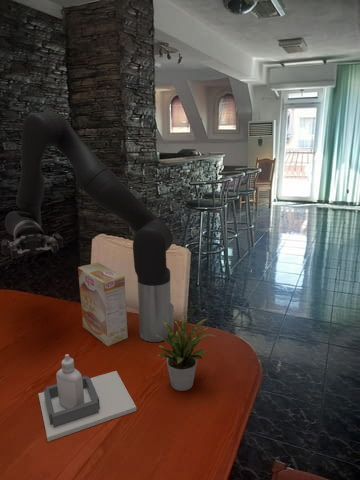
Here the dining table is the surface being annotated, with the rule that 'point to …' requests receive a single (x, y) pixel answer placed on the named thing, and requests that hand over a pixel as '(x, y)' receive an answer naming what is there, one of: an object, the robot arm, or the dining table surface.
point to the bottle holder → (86, 405)
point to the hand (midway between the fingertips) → (35, 251)
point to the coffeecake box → (103, 302)
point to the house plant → (182, 355)
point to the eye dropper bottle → (69, 384)
